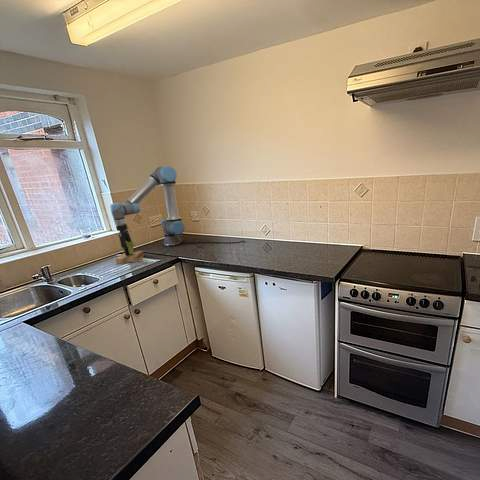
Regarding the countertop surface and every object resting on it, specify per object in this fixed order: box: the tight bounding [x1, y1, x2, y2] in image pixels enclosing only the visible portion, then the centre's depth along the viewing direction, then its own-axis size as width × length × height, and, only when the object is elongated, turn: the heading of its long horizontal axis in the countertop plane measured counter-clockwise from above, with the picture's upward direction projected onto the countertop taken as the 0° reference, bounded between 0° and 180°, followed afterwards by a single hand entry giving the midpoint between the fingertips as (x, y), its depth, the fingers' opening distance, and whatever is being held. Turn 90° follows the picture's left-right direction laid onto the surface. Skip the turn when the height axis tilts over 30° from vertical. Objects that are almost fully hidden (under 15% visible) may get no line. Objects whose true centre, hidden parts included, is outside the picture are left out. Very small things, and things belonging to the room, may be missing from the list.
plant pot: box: [119, 240, 135, 254], centre depth 229 cm, size 9×9×9 cm
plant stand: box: [115, 250, 146, 265], centre depth 232 cm, size 16×16×4 cm
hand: (129, 253), depth 231 cm, fingers closed on plant pot, 8 cm apart
